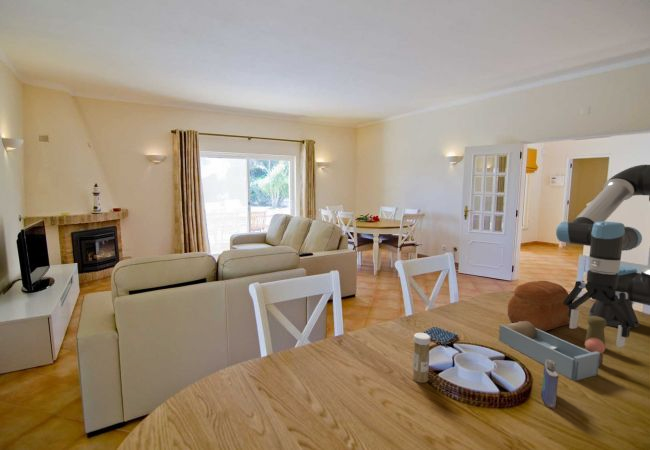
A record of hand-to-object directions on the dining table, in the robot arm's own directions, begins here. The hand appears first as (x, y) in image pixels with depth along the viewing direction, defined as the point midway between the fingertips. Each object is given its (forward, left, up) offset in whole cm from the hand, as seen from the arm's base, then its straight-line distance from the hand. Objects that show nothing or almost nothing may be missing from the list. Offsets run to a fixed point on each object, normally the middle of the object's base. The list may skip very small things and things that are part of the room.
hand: (595, 336), depth 106 cm
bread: (-13, -29, -9) cm, 33 cm away
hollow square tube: (0, 0, -9) cm, 9 cm away
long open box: (+11, -9, -9) cm, 16 cm away
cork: (-12, -7, -9) cm, 17 cm away
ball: (0, 0, -3) cm, 3 cm away
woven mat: (+35, -31, -10) cm, 48 cm away
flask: (+31, +8, -9) cm, 33 cm away
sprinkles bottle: (+58, -11, -9) cm, 59 cm away
